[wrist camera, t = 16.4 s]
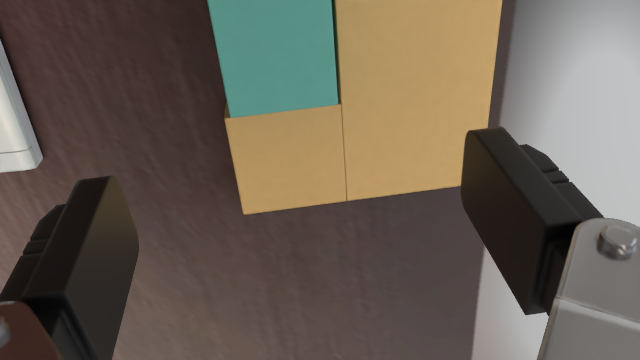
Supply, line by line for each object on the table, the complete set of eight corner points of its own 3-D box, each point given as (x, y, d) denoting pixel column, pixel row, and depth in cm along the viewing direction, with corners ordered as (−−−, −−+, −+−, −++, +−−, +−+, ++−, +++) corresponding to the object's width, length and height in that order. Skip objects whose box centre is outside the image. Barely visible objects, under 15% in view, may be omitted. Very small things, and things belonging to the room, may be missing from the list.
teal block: (208, -35, 24) (203, -17, 21) (319, -46, 24) (329, -31, 21) (231, 89, 27) (230, 118, 25) (328, 77, 28) (338, 105, 25)
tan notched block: (161, -222, 20) (154, -227, 18) (510, -252, 21) (533, -259, 19) (243, 195, 31) (243, 215, 30) (469, 165, 32) (481, 183, 30)
